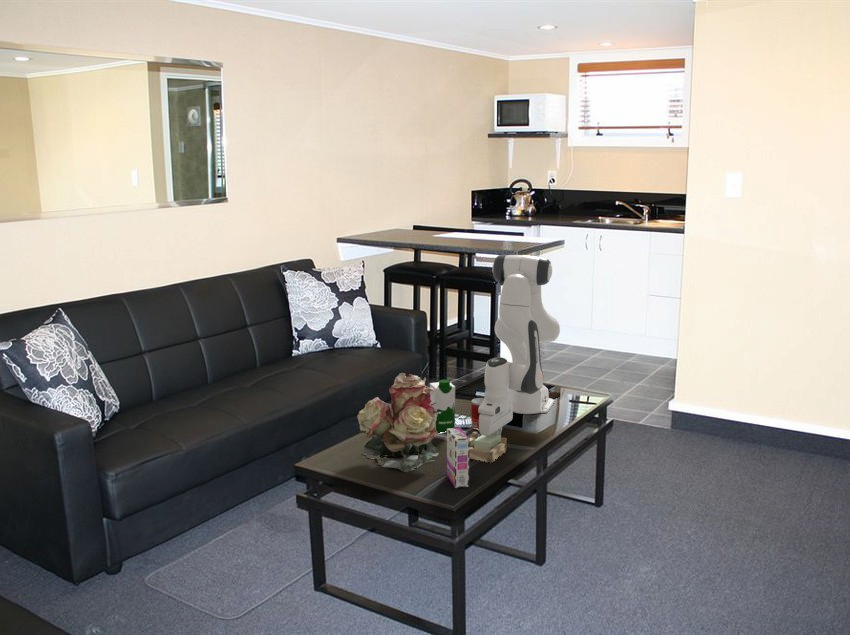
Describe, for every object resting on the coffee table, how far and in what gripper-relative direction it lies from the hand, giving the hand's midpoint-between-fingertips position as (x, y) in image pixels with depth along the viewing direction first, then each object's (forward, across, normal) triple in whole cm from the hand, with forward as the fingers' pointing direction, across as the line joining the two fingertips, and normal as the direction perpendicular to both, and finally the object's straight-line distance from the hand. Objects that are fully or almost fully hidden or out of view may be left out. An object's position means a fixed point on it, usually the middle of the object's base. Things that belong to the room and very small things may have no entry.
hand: (496, 439), depth 294 cm
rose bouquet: (+2, +27, -22) cm, 35 cm away
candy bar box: (+2, +36, +4) cm, 36 cm away
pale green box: (+2, +7, 0) cm, 7 cm away
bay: (+2, +11, 0) cm, 11 cm away
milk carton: (+2, -2, -24) cm, 24 cm away
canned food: (+2, -11, -12) cm, 17 cm away
